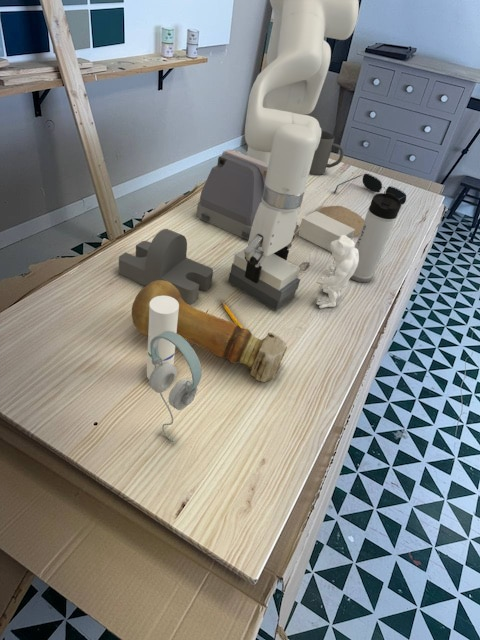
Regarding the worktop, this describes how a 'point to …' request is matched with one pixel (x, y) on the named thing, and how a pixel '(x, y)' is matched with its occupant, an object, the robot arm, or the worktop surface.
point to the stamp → (214, 333)
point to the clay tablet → (344, 217)
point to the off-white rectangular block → (323, 230)
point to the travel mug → (375, 234)
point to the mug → (324, 154)
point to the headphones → (174, 373)
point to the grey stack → (263, 289)
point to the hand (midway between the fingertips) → (265, 271)
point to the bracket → (167, 265)
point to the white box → (271, 269)
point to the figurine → (339, 269)
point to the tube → (162, 328)
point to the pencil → (231, 315)
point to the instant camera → (233, 193)
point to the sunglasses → (379, 187)
